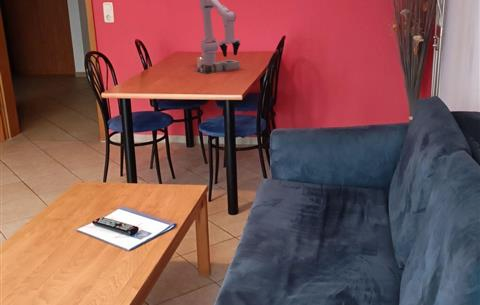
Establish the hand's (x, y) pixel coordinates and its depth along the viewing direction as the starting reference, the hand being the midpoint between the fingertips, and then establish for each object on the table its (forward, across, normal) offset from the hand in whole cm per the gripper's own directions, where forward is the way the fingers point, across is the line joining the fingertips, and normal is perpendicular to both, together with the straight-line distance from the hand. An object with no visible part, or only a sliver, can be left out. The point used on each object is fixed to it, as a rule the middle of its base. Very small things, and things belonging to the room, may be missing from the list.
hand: (230, 55), depth 344 cm
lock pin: (+9, -8, +7) cm, 13 cm away
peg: (+9, -13, +12) cm, 20 cm away
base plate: (+10, -4, +8) cm, 14 cm away
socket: (+9, +4, +6) cm, 11 cm away
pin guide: (+9, -5, +6) cm, 12 cm away
